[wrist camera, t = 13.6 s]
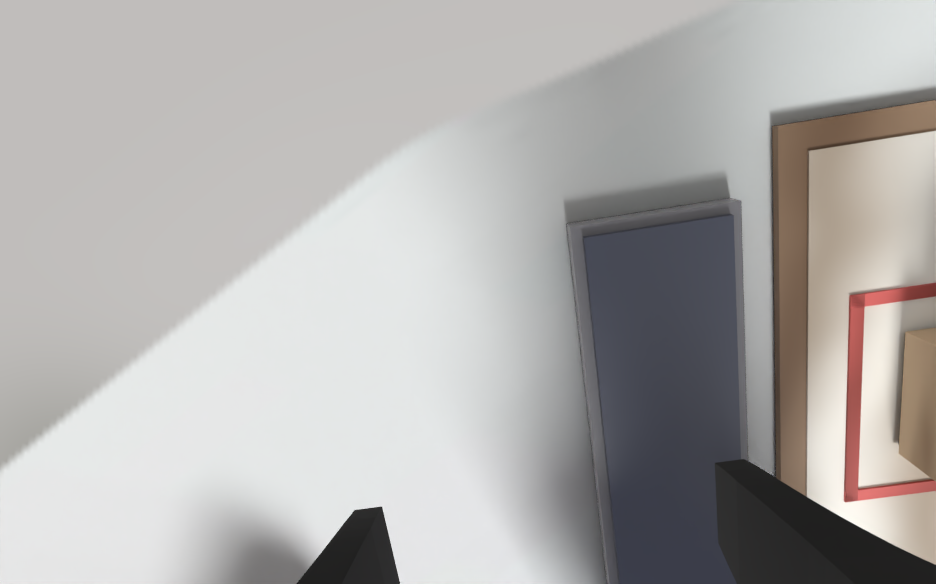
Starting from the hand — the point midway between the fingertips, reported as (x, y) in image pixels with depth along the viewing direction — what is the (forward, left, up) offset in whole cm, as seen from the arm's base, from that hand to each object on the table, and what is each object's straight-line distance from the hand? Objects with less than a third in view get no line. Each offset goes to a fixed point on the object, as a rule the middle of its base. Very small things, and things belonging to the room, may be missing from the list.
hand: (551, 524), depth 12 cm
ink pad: (-6, +4, -10) cm, 12 cm away
